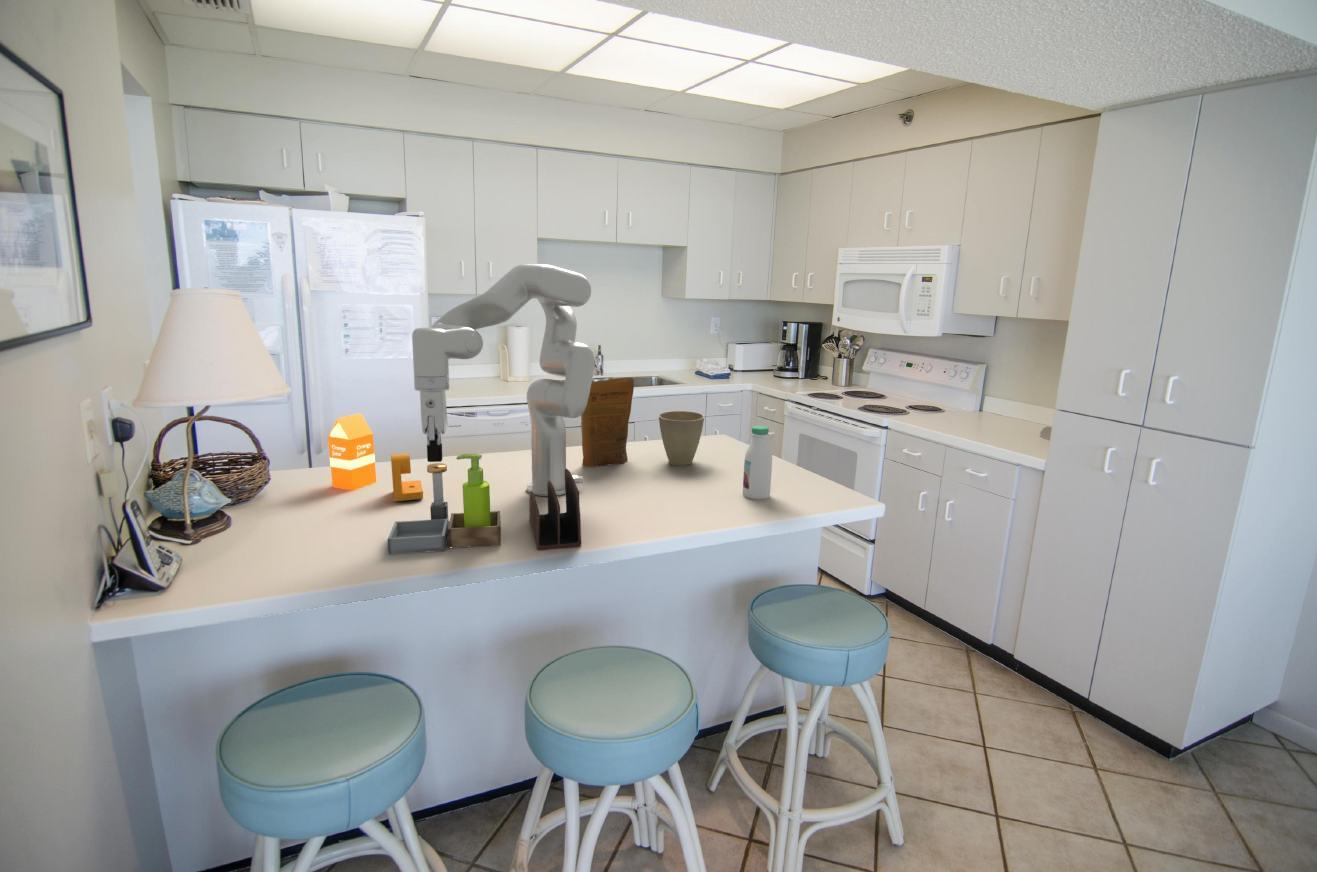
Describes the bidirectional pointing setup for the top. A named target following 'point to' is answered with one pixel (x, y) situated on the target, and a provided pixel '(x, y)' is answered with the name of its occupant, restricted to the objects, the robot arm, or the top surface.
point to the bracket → (404, 489)
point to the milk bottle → (758, 465)
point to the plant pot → (681, 435)
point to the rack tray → (418, 536)
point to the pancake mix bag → (606, 422)
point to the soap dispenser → (475, 495)
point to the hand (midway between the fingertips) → (435, 460)
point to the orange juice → (351, 453)
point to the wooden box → (474, 532)
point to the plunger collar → (439, 512)
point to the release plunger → (437, 482)
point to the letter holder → (557, 518)
